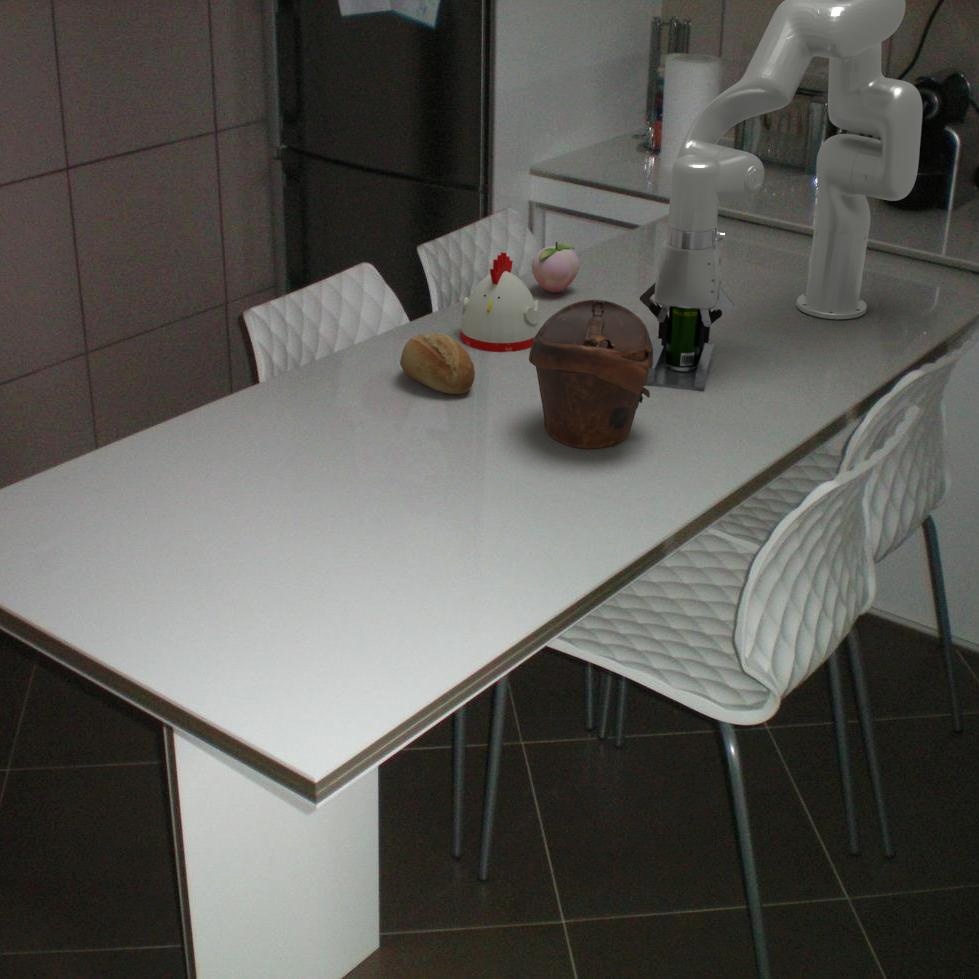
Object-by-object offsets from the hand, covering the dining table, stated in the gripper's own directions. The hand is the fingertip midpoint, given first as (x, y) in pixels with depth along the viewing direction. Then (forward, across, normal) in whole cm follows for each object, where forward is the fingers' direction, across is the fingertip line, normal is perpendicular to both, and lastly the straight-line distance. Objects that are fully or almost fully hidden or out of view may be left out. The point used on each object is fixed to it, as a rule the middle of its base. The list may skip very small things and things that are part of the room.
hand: (683, 343), depth 224 cm
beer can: (+4, 0, 0) cm, 4 cm away
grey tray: (+5, 0, +1) cm, 5 cm away
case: (+5, +10, +27) cm, 30 cm away
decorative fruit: (+5, +28, -32) cm, 43 cm away
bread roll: (+5, +37, +16) cm, 41 cm away
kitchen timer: (+5, +32, -7) cm, 33 cm away
